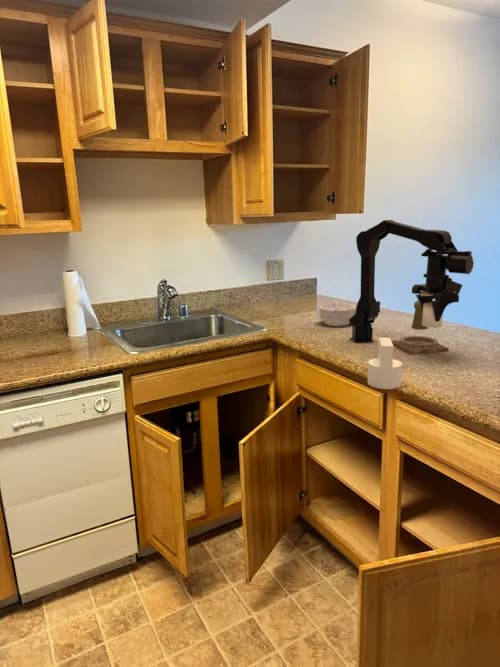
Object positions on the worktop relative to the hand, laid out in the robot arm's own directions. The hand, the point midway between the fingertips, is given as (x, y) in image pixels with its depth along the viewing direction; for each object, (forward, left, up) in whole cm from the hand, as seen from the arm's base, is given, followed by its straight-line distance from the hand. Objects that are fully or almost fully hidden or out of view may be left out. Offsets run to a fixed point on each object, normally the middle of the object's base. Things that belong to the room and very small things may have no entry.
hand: (432, 319), depth 155 cm
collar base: (0, +8, -12) cm, 14 cm away
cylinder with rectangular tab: (-27, -22, -12) cm, 37 cm away
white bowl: (-14, +50, -12) cm, 53 cm away
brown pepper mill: (+15, +34, -12) cm, 39 cm away
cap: (0, 0, -2) cm, 2 cm away
